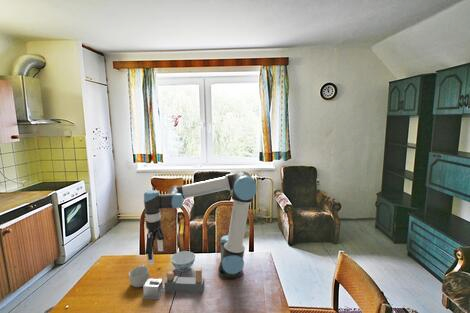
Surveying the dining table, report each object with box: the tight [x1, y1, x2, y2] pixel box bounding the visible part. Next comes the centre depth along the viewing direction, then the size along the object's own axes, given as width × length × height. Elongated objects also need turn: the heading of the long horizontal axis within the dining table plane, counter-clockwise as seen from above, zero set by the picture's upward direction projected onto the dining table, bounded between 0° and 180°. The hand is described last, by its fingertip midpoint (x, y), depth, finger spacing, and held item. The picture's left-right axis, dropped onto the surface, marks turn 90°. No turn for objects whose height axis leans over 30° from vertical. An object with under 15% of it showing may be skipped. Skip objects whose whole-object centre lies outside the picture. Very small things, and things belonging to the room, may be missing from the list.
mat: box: [141, 287, 165, 300], centre depth 139 cm, size 9×9×1 cm
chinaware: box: [170, 250, 196, 272], centre depth 162 cm, size 15×15×8 cm
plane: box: [164, 267, 205, 294], centre depth 142 cm, size 21×6×12 cm, turn 86°
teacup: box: [128, 264, 150, 288], centre depth 148 cm, size 14×11×8 cm
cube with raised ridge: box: [142, 278, 164, 297], centre depth 139 cm, size 8×6×7 cm
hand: (156, 257), depth 138 cm, fingers open, 13 cm apart
